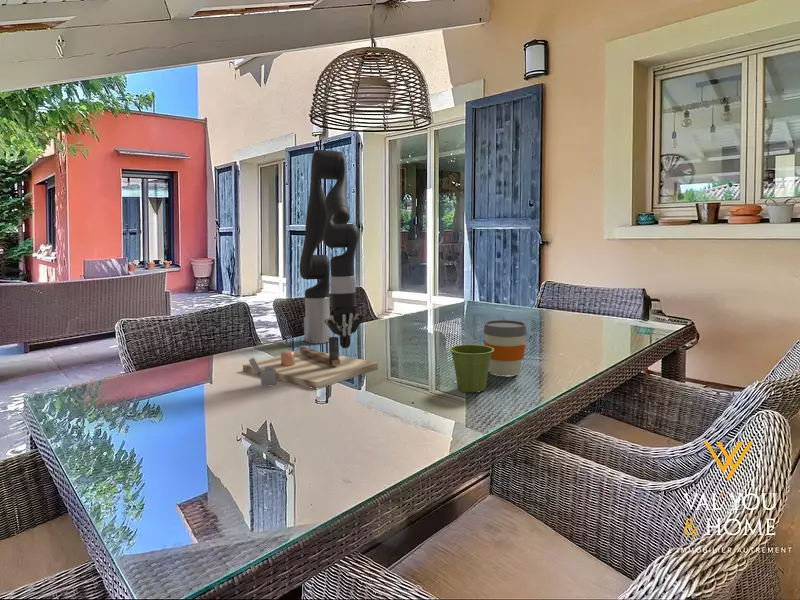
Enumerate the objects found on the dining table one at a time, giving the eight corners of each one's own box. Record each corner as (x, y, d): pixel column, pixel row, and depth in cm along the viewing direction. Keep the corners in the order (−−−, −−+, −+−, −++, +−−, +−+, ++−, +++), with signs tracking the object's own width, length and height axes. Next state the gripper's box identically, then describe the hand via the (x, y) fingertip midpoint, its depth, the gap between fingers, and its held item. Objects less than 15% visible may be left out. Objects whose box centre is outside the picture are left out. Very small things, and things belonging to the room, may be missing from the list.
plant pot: (500, 387, 146) (501, 346, 144) (482, 399, 136) (483, 355, 135) (461, 381, 152) (461, 342, 151) (441, 392, 142) (441, 350, 141)
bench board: (242, 371, 164) (242, 364, 164) (305, 354, 185) (305, 349, 185) (317, 389, 145) (316, 382, 145) (377, 368, 166) (377, 362, 166)
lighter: (276, 383, 151) (275, 355, 150) (276, 385, 150) (275, 357, 149) (250, 385, 149) (248, 357, 148) (250, 387, 148) (248, 359, 147)
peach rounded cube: (278, 365, 163) (277, 352, 163) (288, 362, 167) (288, 349, 166) (287, 367, 161) (286, 354, 160) (297, 364, 164) (296, 351, 164)
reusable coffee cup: (494, 365, 169) (495, 318, 167) (532, 371, 161) (533, 322, 159) (475, 374, 159) (476, 324, 157) (515, 381, 151) (516, 329, 149)
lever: (298, 352, 177) (297, 328, 175) (306, 351, 178) (305, 327, 177) (332, 365, 159) (331, 339, 158) (341, 364, 161) (340, 338, 160)
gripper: (354, 288, 168) (356, 342, 170) (317, 292, 160) (320, 349, 162) (368, 290, 162) (370, 346, 164) (330, 293, 154) (333, 353, 156)
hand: (345, 347), depth 163 cm, fingers closed
